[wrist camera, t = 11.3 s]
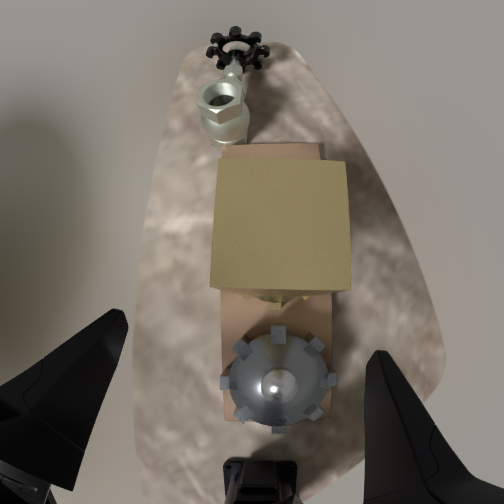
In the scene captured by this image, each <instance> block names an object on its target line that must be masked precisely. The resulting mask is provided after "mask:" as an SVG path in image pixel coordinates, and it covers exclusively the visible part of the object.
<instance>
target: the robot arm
mask: <svg viewBox="0 0 504 504" xmlns="http://www.w3.org/2000/svg"><path fill="white" fill-rule="evenodd" d="M127 332H128V323H127V320H126V317H125V314H124V312H123V311H122V310H119V309H111V310H110V311H108V312H107V313H105V314H104V315H102V316H101V317H100V318H98V319H97V320H95V321H94V322H92V323H91V324H90V325H88V326H87V327H85V328H84V329H83V330H81V331H80V332H78V333H77V334H76V335H74V336H73V337H71V338H70V339H69V340H67V341H66V342H64V343H63V344H62V345H60V346H59V347H58V348H56V349H55V350H53V351H52V352H51V353H49V354H48V355H47V356H46V357H44V359H41V360H40V361H38V362H37V363H36V364H34V365H33V366H32V367H30V368H29V369H28V370H26V371H24V372H23V373H21V374H19V375H18V376H16V377H15V378H13V379H11V380H10V381H8V382H6V383H5V384H3V385H1V386H0V504H57V503H56V501H55V499H54V496H53V494H52V492H51V489H50V487H51V484H53V485H56V486H58V487H61V488H64V489H66V490H69V491H73V489H74V486H75V482H76V479H77V476H78V472H79V469H80V466H81V462H82V459H83V456H84V453H85V449H86V447H87V444H88V441H89V438H90V435H91V432H92V429H93V427H94V424H95V421H96V418H97V416H98V413H99V410H100V408H101V405H102V402H103V400H104V397H105V394H106V392H107V389H108V387H109V384H110V382H111V379H112V377H113V374H114V372H115V370H116V367H117V365H118V362H119V358H120V355H121V351H122V348H123V345H124V342H125V339H126V335H127ZM364 420H365V481H364V502H363V504H504V489H503V488H500V487H498V486H495V485H493V484H490V483H487V482H485V481H482V480H480V479H478V478H476V477H475V476H473V475H472V474H471V473H470V472H469V471H468V470H467V468H466V467H465V466H464V464H463V463H462V462H461V461H460V459H459V458H458V457H457V455H456V454H455V452H454V451H453V450H452V448H451V447H450V446H449V444H448V443H447V441H446V440H445V438H444V437H443V435H442V434H441V432H440V431H439V429H438V428H437V426H436V425H435V423H434V421H433V420H432V418H431V416H430V415H429V413H428V412H427V410H426V409H425V407H424V405H423V404H422V402H421V401H420V399H419V398H418V396H417V395H416V393H415V391H414V390H413V388H412V387H411V385H410V384H409V382H408V381H407V379H406V378H405V376H404V375H403V374H402V372H401V371H400V369H399V368H398V366H397V365H396V363H395V362H394V360H393V359H392V357H391V356H390V355H389V353H388V352H387V351H385V350H376V351H375V352H374V354H373V355H372V357H371V358H370V360H369V361H368V363H367V365H366V379H365V397H364ZM227 465H230V466H231V467H228V466H227ZM290 465H293V467H289V466H290ZM223 472H224V484H225V496H226V500H225V504H303V503H302V501H301V500H300V499H299V498H298V496H297V495H296V494H295V492H296V477H297V464H296V462H294V461H226V462H225V463H224V465H223Z"/></svg>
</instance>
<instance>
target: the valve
mask: <svg viewBox="0 0 504 504" xmlns="http://www.w3.org/2000/svg"><path fill="white" fill-rule="evenodd" d="M261 37H262V36H261V34H260V33H259V32H253V33H251V34H250V36H245V35H242V34H241V28H239V27H238V26H234V27H231V29H230V31H229V36H227V37H224V36H223V35H222V34H220V33H214V34H213V35H212V37H211V43H212V44H214V43H217V44H218V45H217V47H214V46H210V47H208V49H207V52H206V56H207V57H208V58H213V56H214V55H217V56H218V58H219V59H218V61H217V65H216V67H217V68H218V69H220V70H224V74H223V77H224V78H223V79H218V80H215V81H212V82H210V83H208V84H206V85H204V86H202V87H201V89H200V92H199V95H198V100H197V106H198V109H199V112H200V114H201V123H202V127H203V129H204V130H205V132H206V133H207V134H208V135H209V139H210V142H211V145H213V146H215V147H216V148H218V149H220V150H222V146H223V147H225V148H228V147H230V146H232V145H247V136H248V126H249V122H250V113H249V109H248V107H247V105H246V104H245V102H244V100H245V98H246V92H247V88H246V85H245V84H244V83H243V82H242V76H243V73H244V72H245V67H246V66H247V65H250V64H252V65H253V66H254V69H256V70H259V69H261V68H262V65H263V60H262V59H261V58H258V57H259V55H264V58H266V57H268V56H269V55H270V48H269V47H268V46H266V45H263V46H259V45H258V44H257V42H258V43H260V42H261ZM232 41H241V42H245V43H247V44H248V45H250V48H249V50H248V51H246V49H245V47H244V46H242V45H239V44H236V45H234V46H232V47H230V50H229V51H228V53H226V52H224V51H223V46H224V45H225V44H227V43H229V42H232ZM251 55H252V56H251ZM250 56H251V57H250ZM248 57H249V58H248ZM246 58H247V59H246Z"/></svg>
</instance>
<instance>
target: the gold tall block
mask: <svg viewBox="0 0 504 504" xmlns="http://www.w3.org/2000/svg"><path fill="white" fill-rule="evenodd" d="M210 287H212V288H216V289H220V290H224V291H228V292H232V293H235V294H239V295H241V296H242V297H243V298H244V299H247V298H248V297H249V296H250V295H252V296H254V297H256V298H258V299H260V300H262V301H266V302H268V310H281V302H286V301H289V300H292V299H294V298H296V297H300V298H301V299H302V300H303V301H304V300H306V299H307V298H308V297H309V296H316V295H323V294H330V293H336V292H342V291H349V290H351V242H350V219H349V202H348V188H347V176H346V166H345V162H344V161H331V160H315V159H294V158H219V161H218V172H217V184H216V196H215V209H214V223H213V237H212V253H211V271H210Z"/></svg>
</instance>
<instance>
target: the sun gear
mask: <svg viewBox="0 0 504 504" xmlns="http://www.w3.org/2000/svg"><path fill="white" fill-rule="evenodd" d="M270 324H271V331H270V332H265V333H262V334H260V335H258V336H256V337H254V338H253V339H250V338H249V337H248V336H247V335H245V334H244V335H243V336H242V337H241V338H240V339H239V340H238V341H237V342H236V343H235V345H234V346H233V347H232V348H231V350H232V351H233V352H234V353H236V354H237V357H236V359H235V360H234V362H233V364H232V367H226V368H225V369H224V371H223V372H222V374H221V375H220V390H230V394H231V397H232V399H233V401H234V403H235V405H236V408H235V411H234V414H233V416H235V417H236V418H237V419H238V420H239V421H240V422H242V423H243V424H244V423H245V422H246V421H248V420H249V419H251V420H253V421H255V422H257V423H260V424H263V425H268V426H272V433H286V425H291V424H294V423H297V422H299V421H301V420H303V419H305V418H307V417H309V418H310V419H311V420H312V421H315V420H316V419H317V418H319V417H320V416H321V415H322V414H323V413H324V411H323V409H322V407H321V405H320V404H321V403H322V401H323V399H324V397H325V394H326V392H327V387H332V386H337V372H336V371H335V370H334V369H333V368H332V367H331V366H330V365H329V364H325V362H324V360H323V358H322V356H321V355H320V354H319V353H320V352H321V351H322V349H323V348H324V347H325V345H324V344H323V343H322V342H321V341H320V340H319V339H317V338H316V337H315V336H314V335H313V334H311V333H310V332H309V333H308V334H307V335H306V336H305V337H304V338H303V337H301V336H299V335H297V334H295V333H292V332H288V331H286V325H285V324H284V323H270Z"/></svg>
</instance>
